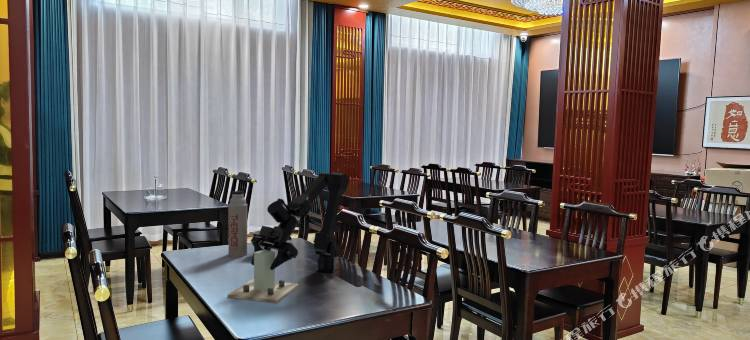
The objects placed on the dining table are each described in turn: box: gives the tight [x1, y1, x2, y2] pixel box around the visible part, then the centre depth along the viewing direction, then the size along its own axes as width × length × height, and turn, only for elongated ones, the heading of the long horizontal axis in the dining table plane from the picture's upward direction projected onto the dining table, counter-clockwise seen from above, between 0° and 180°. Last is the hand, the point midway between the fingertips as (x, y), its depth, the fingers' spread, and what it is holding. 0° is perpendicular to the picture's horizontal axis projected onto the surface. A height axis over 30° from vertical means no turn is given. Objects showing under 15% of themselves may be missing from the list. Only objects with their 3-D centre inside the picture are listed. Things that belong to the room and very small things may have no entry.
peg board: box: [227, 278, 299, 304], centre depth 183 cm, size 18×18×3 cm
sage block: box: [253, 250, 276, 292], centre depth 183 cm, size 5×5×13 cm
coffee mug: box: [252, 230, 272, 251], centre depth 234 cm, size 12×9×10 cm
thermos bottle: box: [227, 190, 248, 258], centre depth 231 cm, size 8×8×28 cm
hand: (261, 267), depth 181 cm, fingers open, 9 cm apart
